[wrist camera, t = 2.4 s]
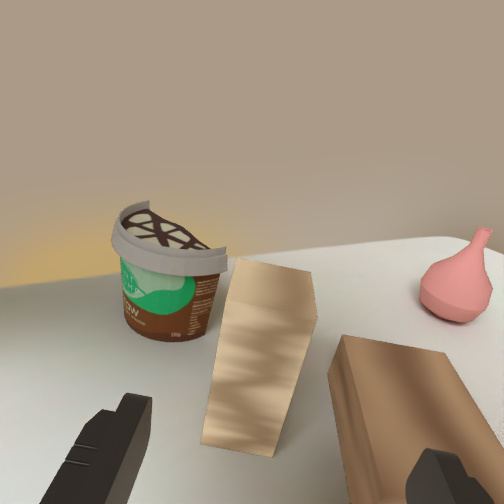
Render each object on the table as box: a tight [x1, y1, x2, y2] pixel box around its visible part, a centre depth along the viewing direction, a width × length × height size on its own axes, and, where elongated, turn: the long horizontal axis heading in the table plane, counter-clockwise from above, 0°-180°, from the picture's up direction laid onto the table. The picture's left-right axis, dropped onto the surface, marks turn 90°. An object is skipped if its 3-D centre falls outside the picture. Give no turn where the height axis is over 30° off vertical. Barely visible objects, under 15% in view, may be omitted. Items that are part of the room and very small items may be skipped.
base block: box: [327, 335, 504, 504], centre depth 26 cm, size 9×13×5 cm
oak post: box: [201, 258, 318, 458], centre depth 24 cm, size 5×5×12 cm
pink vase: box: [420, 226, 493, 322], centre depth 43 cm, size 8×8×12 cm
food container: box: [111, 200, 227, 342], centre depth 32 cm, size 12×6×10 cm, turn 47°
